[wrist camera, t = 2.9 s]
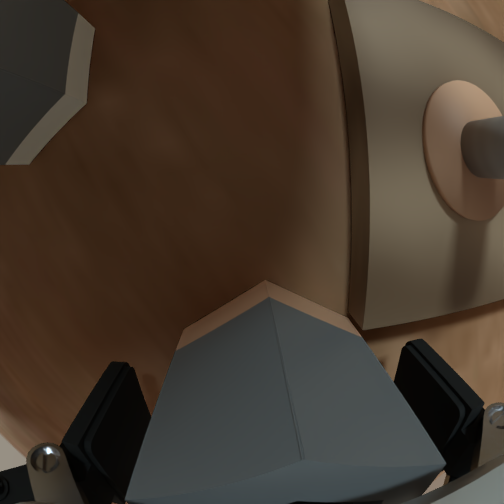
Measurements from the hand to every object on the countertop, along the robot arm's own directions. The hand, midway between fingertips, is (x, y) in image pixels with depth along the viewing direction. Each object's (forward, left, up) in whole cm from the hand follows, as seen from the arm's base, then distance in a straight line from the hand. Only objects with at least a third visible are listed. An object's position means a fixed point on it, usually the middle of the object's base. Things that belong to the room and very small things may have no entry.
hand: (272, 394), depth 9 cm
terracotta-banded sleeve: (0, 0, -2) cm, 2 cm away
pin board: (-8, +14, -2) cm, 16 cm away
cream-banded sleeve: (-12, -9, -2) cm, 15 cm away
